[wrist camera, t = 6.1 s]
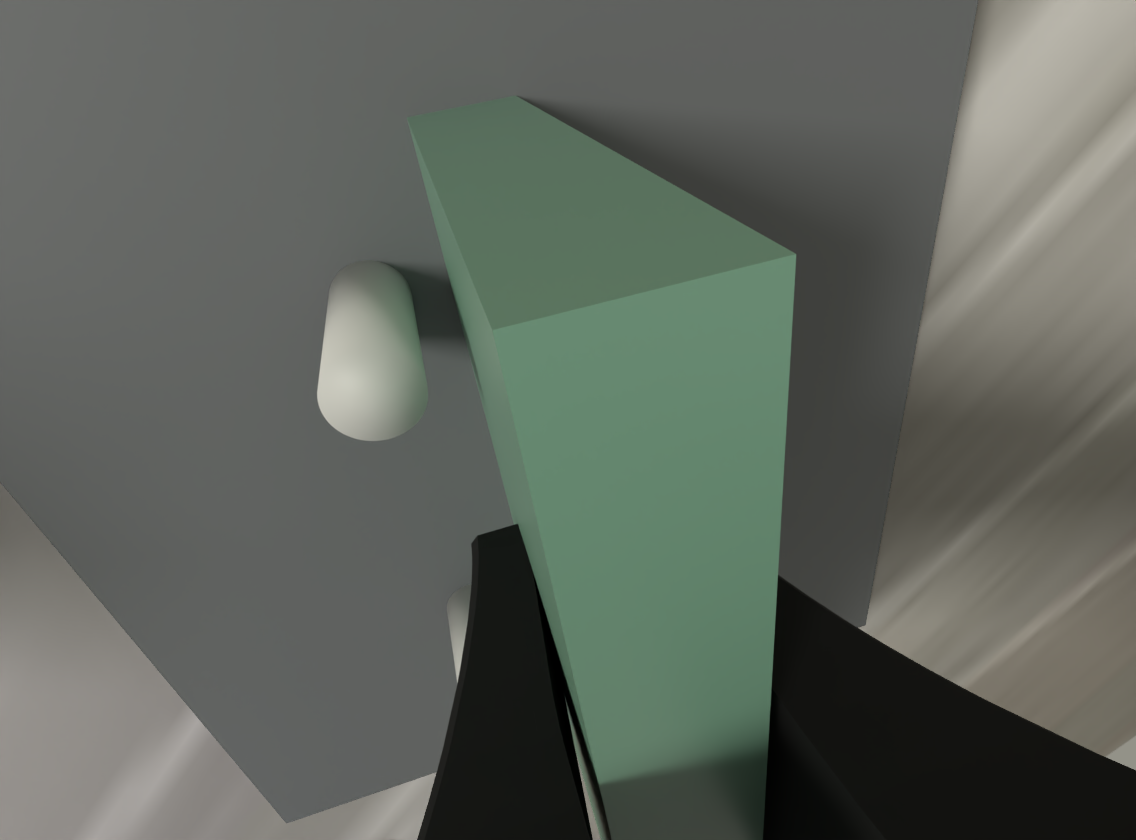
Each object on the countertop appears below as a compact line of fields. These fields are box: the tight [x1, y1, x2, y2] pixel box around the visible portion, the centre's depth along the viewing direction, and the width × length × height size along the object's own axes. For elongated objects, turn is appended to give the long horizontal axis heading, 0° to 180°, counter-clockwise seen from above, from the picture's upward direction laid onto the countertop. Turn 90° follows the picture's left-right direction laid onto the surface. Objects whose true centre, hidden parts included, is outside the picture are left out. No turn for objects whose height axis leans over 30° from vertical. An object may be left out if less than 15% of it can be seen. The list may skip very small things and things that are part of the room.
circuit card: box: [407, 96, 796, 840], centre depth 9 cm, size 12×2×7 cm, turn 9°
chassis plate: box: [0, 0, 978, 823], centre depth 11 cm, size 18×16×4 cm
